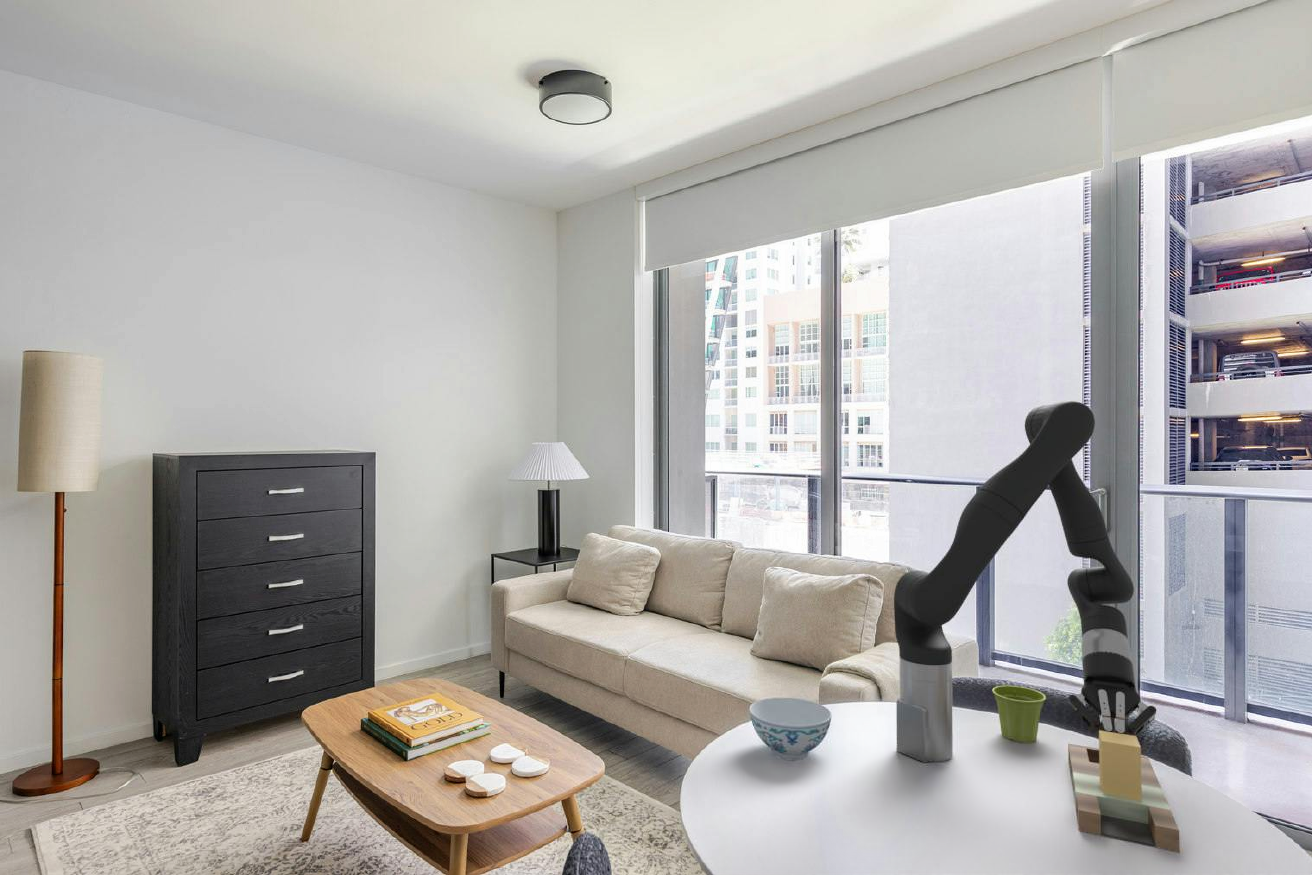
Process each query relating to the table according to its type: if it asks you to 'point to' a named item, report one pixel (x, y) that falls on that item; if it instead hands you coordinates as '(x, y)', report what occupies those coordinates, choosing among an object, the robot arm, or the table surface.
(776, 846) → the table surface
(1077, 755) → the box
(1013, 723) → the plant pot
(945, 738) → the robot arm
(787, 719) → the chinaware
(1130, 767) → the ochre block
